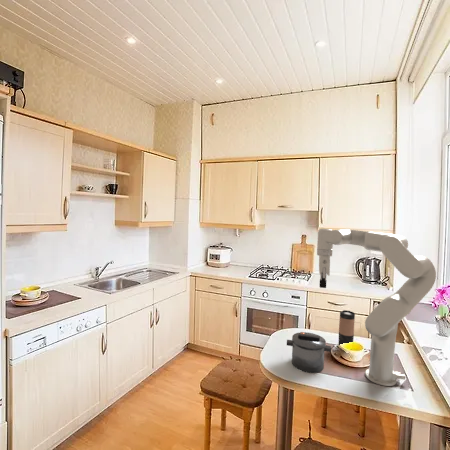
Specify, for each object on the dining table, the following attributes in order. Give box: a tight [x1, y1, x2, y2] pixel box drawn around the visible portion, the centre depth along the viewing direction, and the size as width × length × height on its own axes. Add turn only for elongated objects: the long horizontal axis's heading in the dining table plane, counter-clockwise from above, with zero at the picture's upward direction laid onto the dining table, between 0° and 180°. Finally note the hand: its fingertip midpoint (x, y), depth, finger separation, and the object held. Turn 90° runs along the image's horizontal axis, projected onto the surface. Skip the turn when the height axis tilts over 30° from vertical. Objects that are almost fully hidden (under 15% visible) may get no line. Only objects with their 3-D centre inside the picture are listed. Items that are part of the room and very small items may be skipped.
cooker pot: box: [286, 339, 332, 374], centre depth 145 cm, size 21×17×11 cm
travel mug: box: [337, 309, 356, 345], centre depth 163 cm, size 8×8×20 cm
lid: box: [291, 331, 327, 350], centre depth 145 cm, size 16×16×3 cm
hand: (322, 287), depth 155 cm, fingers closed
